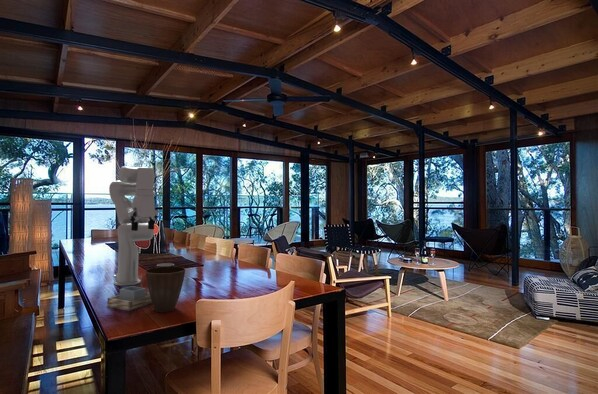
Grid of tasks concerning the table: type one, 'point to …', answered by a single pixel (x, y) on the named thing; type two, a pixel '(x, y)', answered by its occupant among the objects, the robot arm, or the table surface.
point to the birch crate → (128, 303)
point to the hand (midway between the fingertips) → (143, 229)
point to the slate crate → (132, 293)
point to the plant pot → (165, 286)
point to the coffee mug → (164, 265)
